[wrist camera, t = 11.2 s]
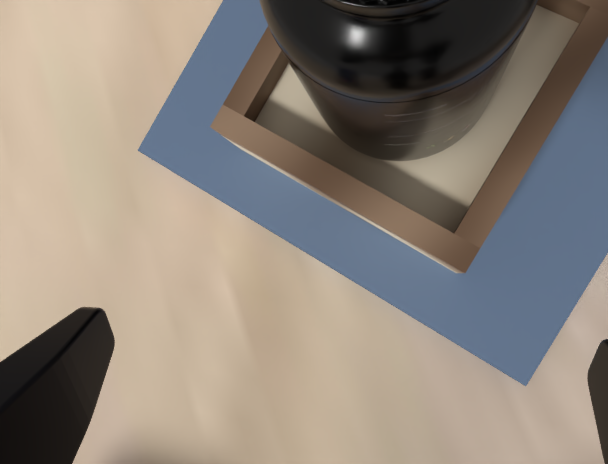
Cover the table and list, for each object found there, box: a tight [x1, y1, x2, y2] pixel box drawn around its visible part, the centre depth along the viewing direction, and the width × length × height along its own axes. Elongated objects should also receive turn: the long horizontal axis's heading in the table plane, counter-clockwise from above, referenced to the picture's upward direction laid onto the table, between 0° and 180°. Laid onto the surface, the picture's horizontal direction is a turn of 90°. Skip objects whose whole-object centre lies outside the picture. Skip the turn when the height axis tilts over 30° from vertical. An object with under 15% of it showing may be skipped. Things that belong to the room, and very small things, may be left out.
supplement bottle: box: [259, 0, 538, 161], centre depth 14 cm, size 7×7×12 cm
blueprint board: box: [138, 0, 608, 386], centre depth 23 cm, size 20×16×1 cm
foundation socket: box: [210, 0, 608, 273], centre depth 21 cm, size 11×11×4 cm
